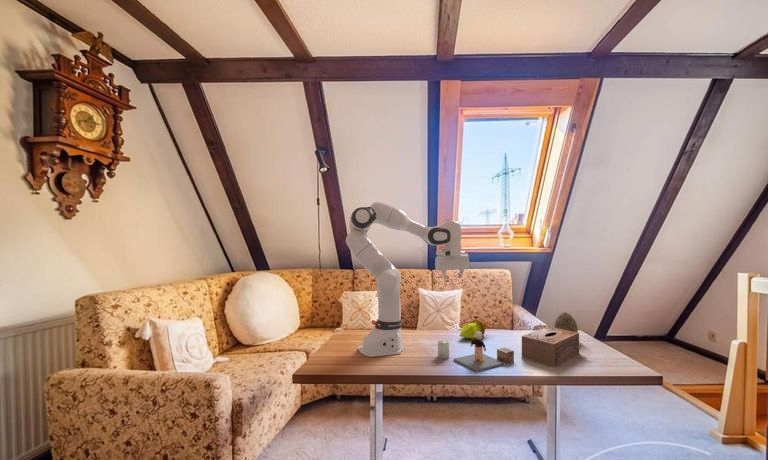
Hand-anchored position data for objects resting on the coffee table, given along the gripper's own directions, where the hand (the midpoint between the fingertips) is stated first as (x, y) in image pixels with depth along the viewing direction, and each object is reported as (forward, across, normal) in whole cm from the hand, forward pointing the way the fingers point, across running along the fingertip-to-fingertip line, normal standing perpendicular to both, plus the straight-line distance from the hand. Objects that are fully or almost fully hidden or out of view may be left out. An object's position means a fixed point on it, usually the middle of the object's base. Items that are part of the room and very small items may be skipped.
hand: (452, 278), depth 178 cm
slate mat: (+33, +8, +27) cm, 43 cm away
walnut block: (+33, -4, +31) cm, 46 cm away
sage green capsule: (+33, +17, +14) cm, 40 cm away
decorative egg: (+33, -54, +26) cm, 69 cm away
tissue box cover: (+34, -28, +36) cm, 57 cm away
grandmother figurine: (+32, +8, +27) cm, 43 cm away
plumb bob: (+33, -16, -2) cm, 37 cm away
